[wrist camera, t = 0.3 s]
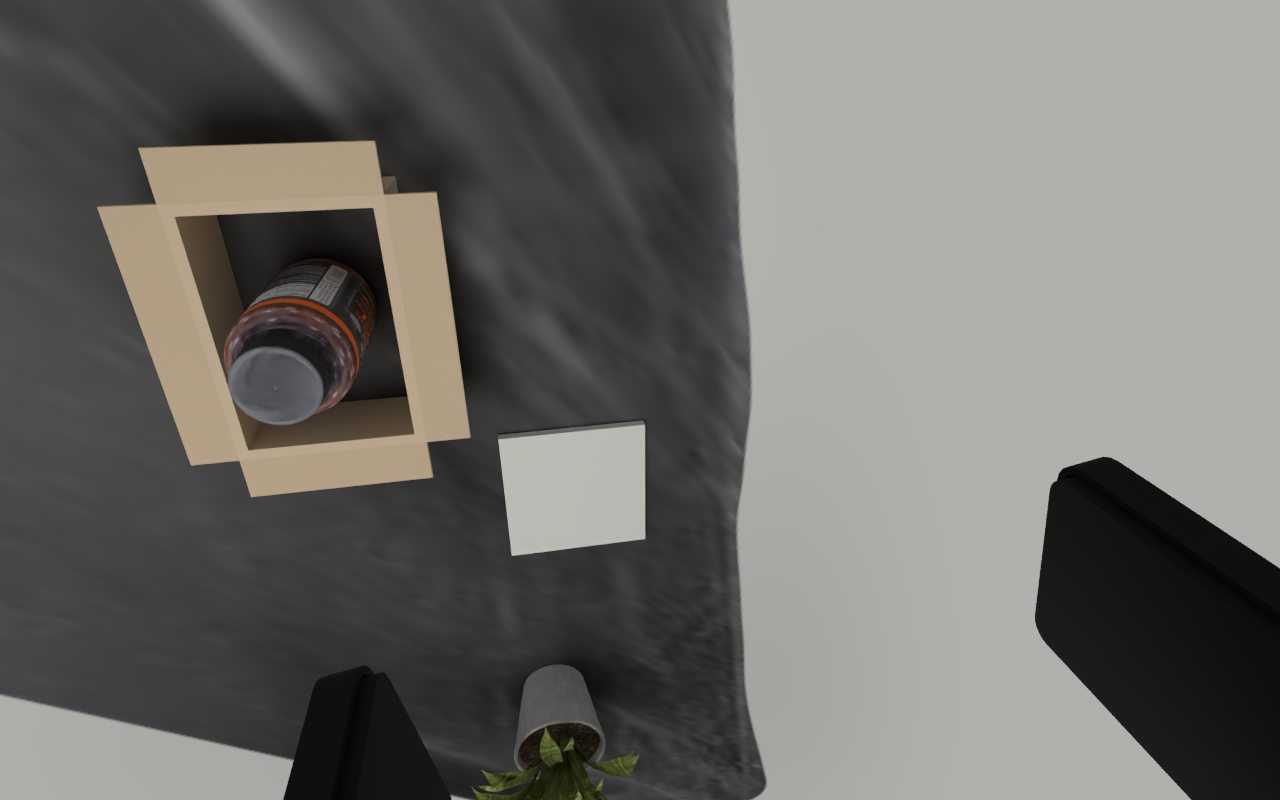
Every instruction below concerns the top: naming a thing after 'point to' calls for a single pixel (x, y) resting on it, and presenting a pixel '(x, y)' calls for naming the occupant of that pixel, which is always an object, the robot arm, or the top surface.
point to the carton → (210, 305)
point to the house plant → (557, 741)
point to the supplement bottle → (300, 342)
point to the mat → (574, 486)
